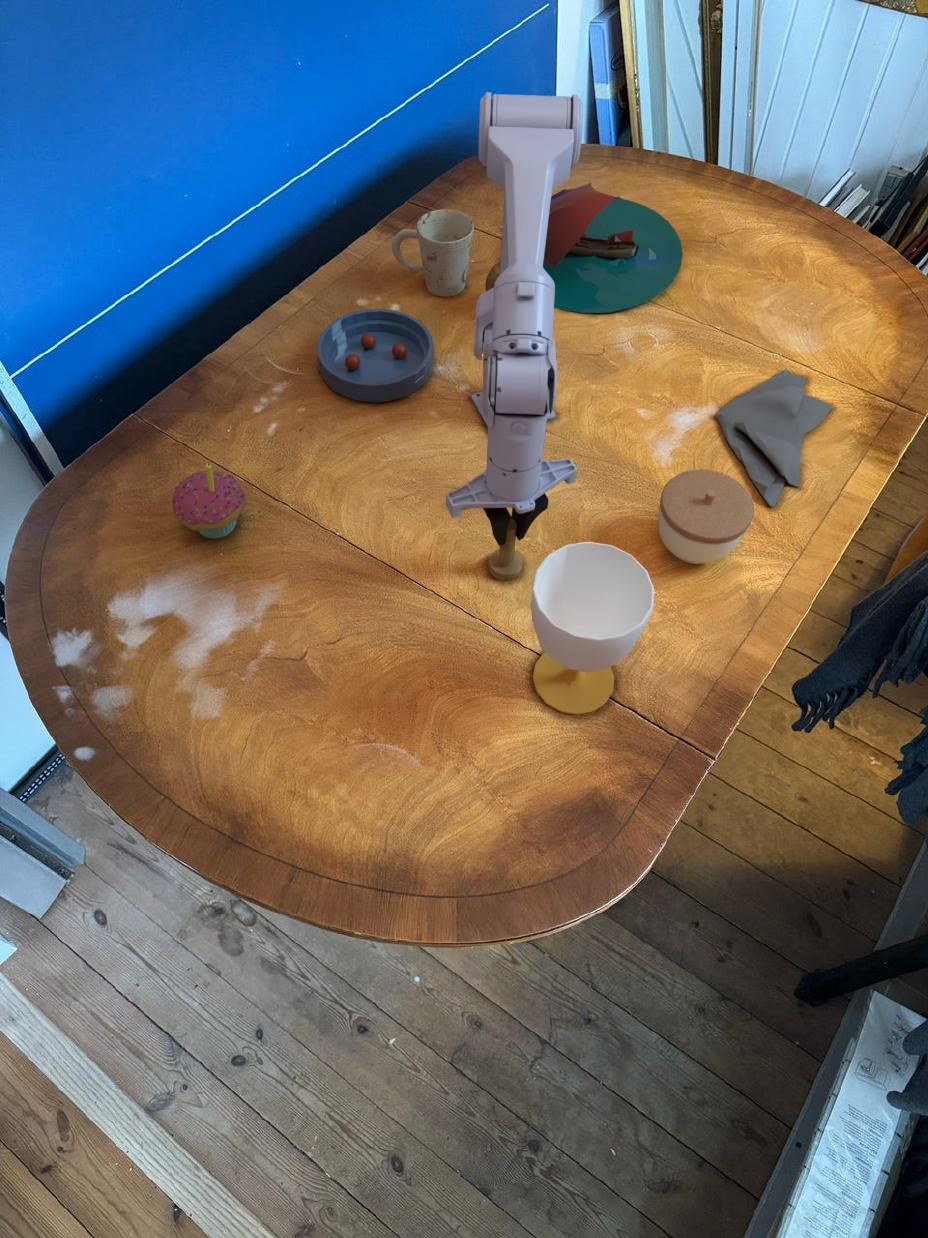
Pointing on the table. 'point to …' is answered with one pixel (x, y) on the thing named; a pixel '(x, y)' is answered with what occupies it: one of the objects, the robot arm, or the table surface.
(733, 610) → the table surface
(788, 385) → the cloth
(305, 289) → the table surface
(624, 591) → the cup
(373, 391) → the bowl
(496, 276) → the fruit
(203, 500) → the cupcake
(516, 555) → the pestle
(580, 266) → the toy sailboat
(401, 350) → the bead
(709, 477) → the trinket box
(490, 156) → the robot arm
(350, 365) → the bead
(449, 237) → the mug
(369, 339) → the bead
